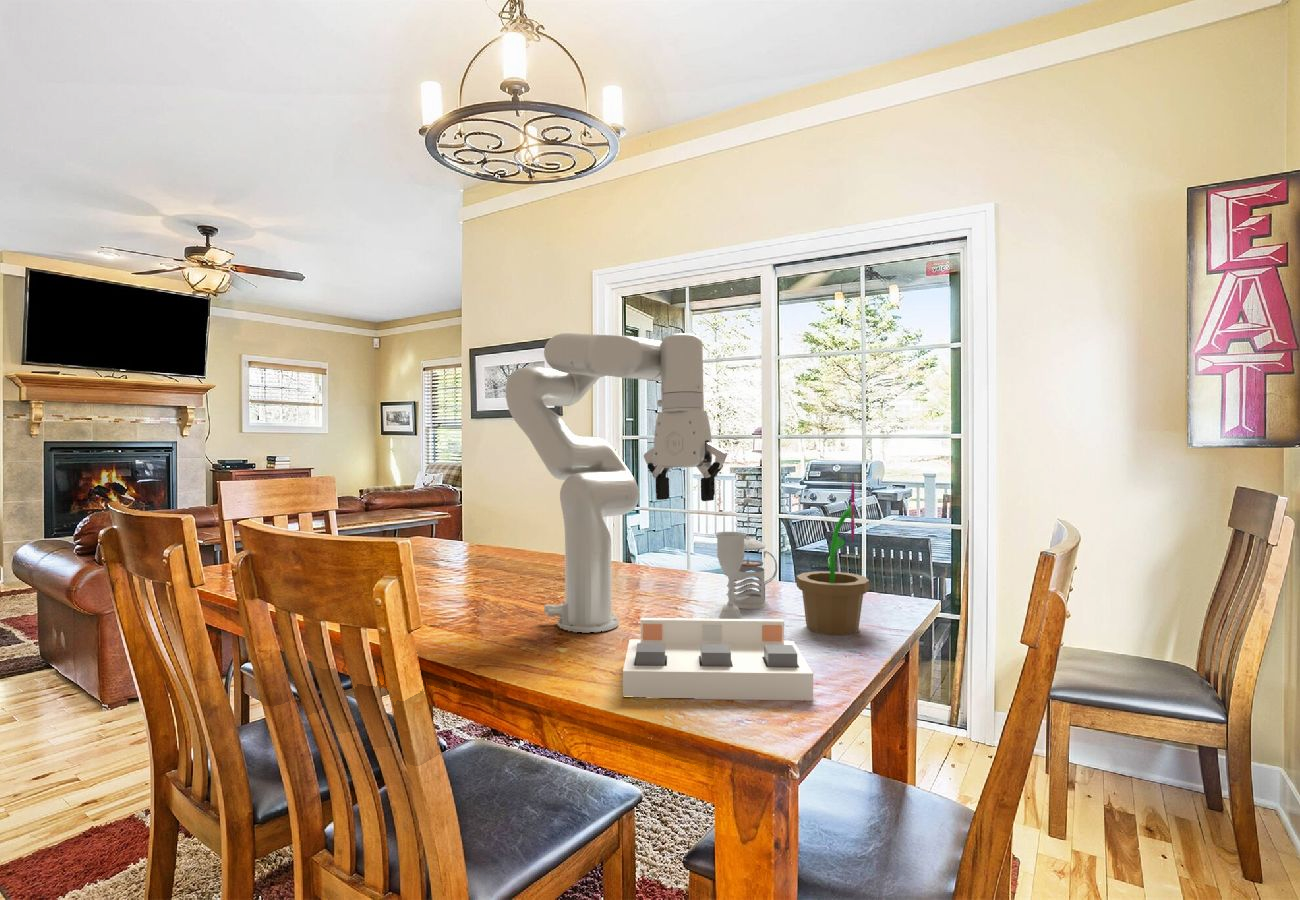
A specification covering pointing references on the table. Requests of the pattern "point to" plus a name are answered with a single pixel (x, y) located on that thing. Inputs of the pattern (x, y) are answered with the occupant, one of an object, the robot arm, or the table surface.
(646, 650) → the button left
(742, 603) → the french press
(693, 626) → the button board
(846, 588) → the flowerpot
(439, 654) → the table surface
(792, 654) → the button right
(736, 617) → the chalice
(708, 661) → the button middle
